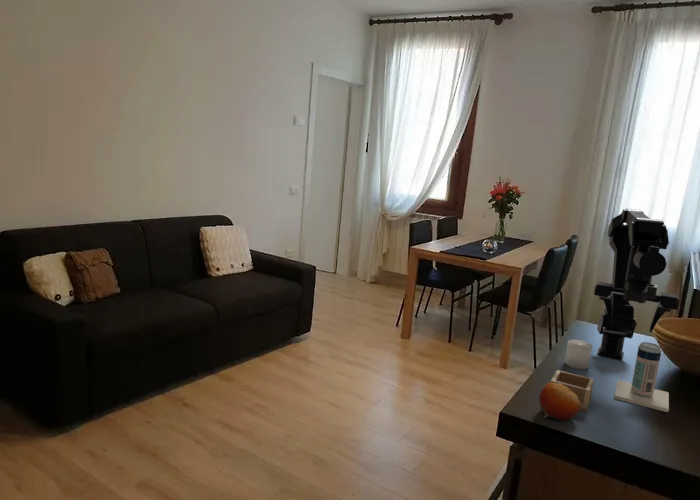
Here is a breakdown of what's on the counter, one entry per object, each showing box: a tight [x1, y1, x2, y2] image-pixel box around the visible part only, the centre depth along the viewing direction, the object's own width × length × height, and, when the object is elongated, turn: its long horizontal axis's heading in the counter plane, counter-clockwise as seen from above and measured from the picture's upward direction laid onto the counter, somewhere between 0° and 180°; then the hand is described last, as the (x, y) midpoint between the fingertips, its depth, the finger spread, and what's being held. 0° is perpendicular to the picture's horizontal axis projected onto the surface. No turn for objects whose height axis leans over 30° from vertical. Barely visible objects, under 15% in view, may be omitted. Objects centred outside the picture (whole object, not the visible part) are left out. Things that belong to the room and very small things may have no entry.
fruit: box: [539, 381, 581, 421], centre depth 114 cm, size 8×8×8 cm
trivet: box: [613, 379, 670, 413], centre depth 128 cm, size 11×11×1 cm
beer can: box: [631, 341, 662, 397], centre depth 127 cm, size 5×5×12 cm
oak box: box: [550, 369, 595, 413], centre depth 122 cm, size 8×8×5 cm
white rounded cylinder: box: [564, 339, 593, 370], centre depth 145 cm, size 6×6×6 cm
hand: (630, 327), depth 138 cm, fingers open, 9 cm apart
